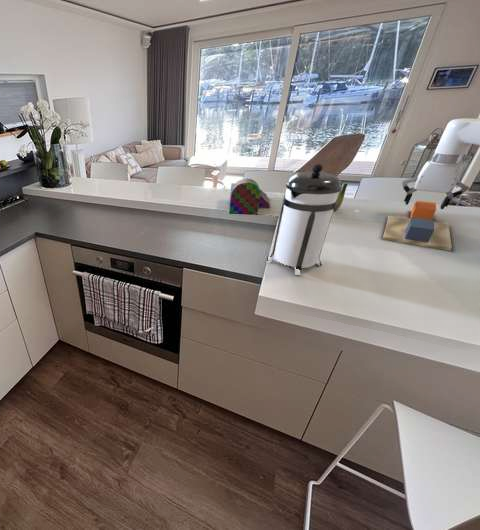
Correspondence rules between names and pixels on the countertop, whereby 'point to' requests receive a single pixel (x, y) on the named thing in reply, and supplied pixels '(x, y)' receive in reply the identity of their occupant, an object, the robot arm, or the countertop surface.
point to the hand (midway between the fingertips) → (423, 205)
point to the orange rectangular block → (423, 210)
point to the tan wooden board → (397, 233)
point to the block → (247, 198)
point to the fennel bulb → (340, 196)
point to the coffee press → (305, 217)
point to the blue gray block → (419, 229)
